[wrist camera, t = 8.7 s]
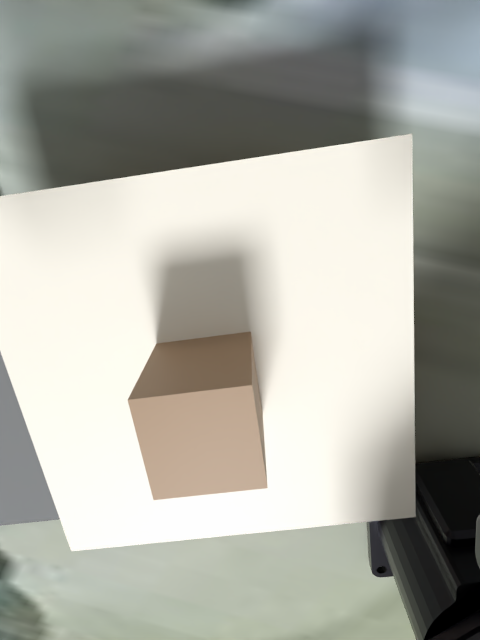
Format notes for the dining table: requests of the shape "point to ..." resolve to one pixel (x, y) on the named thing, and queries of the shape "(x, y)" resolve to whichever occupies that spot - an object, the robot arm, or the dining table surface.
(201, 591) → the dining table surface
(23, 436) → the mat
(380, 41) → the dining table surface
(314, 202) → the cover board
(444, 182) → the dining table surface
